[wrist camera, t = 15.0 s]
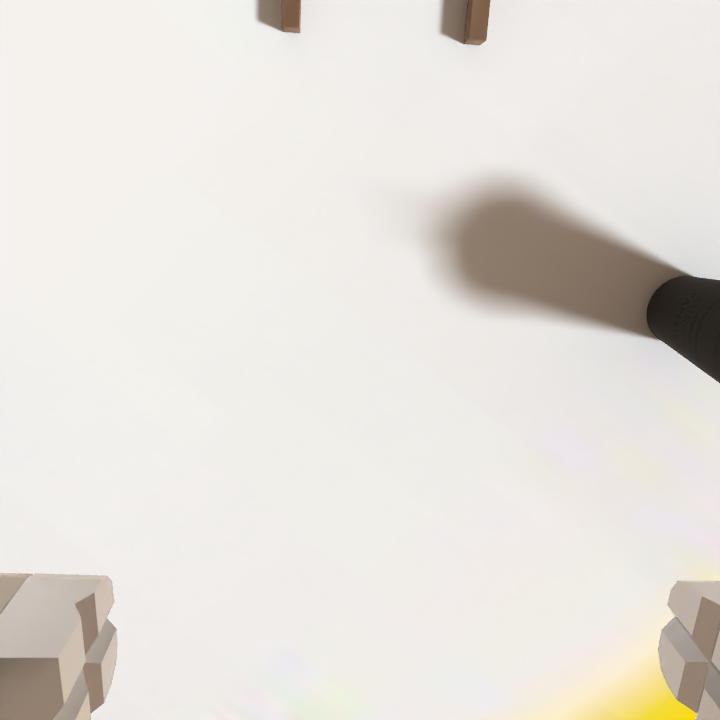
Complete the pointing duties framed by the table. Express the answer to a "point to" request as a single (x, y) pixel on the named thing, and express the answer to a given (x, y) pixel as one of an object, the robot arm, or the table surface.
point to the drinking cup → (689, 320)
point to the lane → (473, 30)
